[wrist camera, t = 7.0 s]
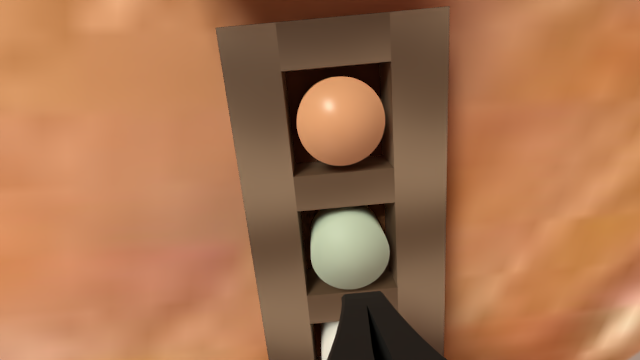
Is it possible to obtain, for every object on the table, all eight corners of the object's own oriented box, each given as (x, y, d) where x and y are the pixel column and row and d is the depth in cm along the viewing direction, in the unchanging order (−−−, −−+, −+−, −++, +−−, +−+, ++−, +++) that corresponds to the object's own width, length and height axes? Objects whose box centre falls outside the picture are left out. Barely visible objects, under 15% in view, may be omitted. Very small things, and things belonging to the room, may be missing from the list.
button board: (428, 370, 22) (442, 407, 19) (282, 384, 22) (278, 422, 19) (428, 16, 16) (449, 6, 13) (229, 35, 16) (215, 27, 13)
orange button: (375, 149, 17) (386, 161, 15) (302, 156, 17) (301, 169, 15) (372, 73, 16) (383, 72, 14) (294, 80, 16) (291, 80, 14)
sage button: (380, 259, 19) (390, 285, 16) (313, 265, 19) (314, 292, 16) (377, 196, 18) (388, 214, 15) (307, 202, 18) (307, 222, 15)
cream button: (384, 350, 21) (394, 386, 18) (323, 355, 21) (325, 392, 18) (382, 297, 20) (392, 328, 17) (317, 303, 20) (318, 335, 17)
